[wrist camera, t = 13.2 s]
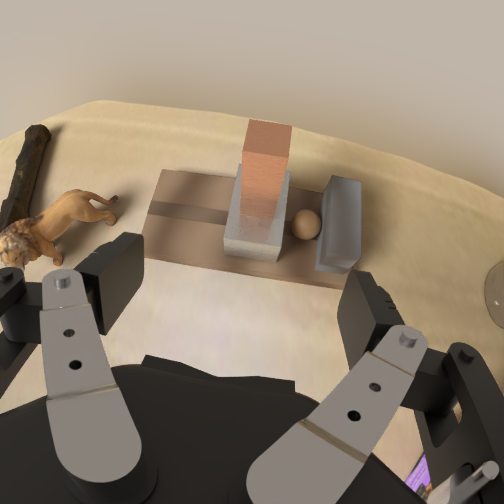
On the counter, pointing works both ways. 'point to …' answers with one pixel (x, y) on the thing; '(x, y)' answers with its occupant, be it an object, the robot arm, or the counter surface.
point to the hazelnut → (305, 224)
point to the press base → (215, 218)
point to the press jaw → (260, 193)
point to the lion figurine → (49, 228)
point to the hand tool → (24, 176)
